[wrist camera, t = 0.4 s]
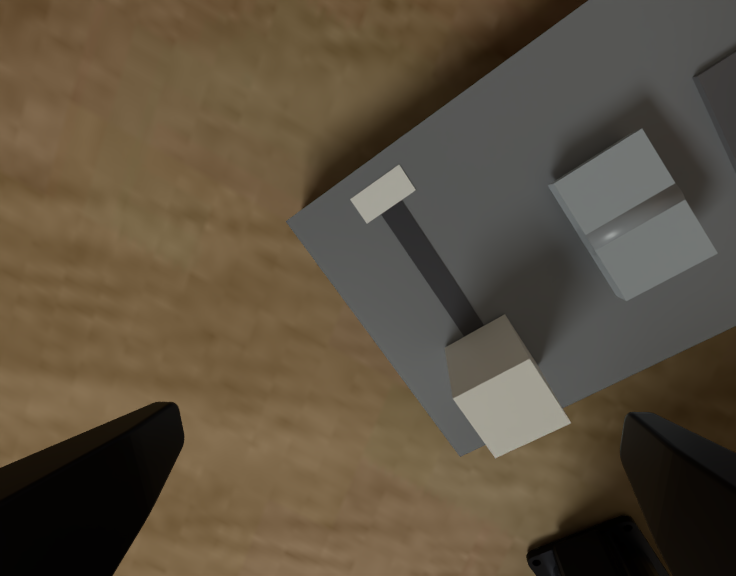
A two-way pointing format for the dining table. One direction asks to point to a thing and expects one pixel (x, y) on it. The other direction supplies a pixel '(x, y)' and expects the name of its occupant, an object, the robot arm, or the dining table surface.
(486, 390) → the off-white cube
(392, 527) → the dining table surface
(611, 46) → the switch console
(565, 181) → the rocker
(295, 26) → the dining table surface
